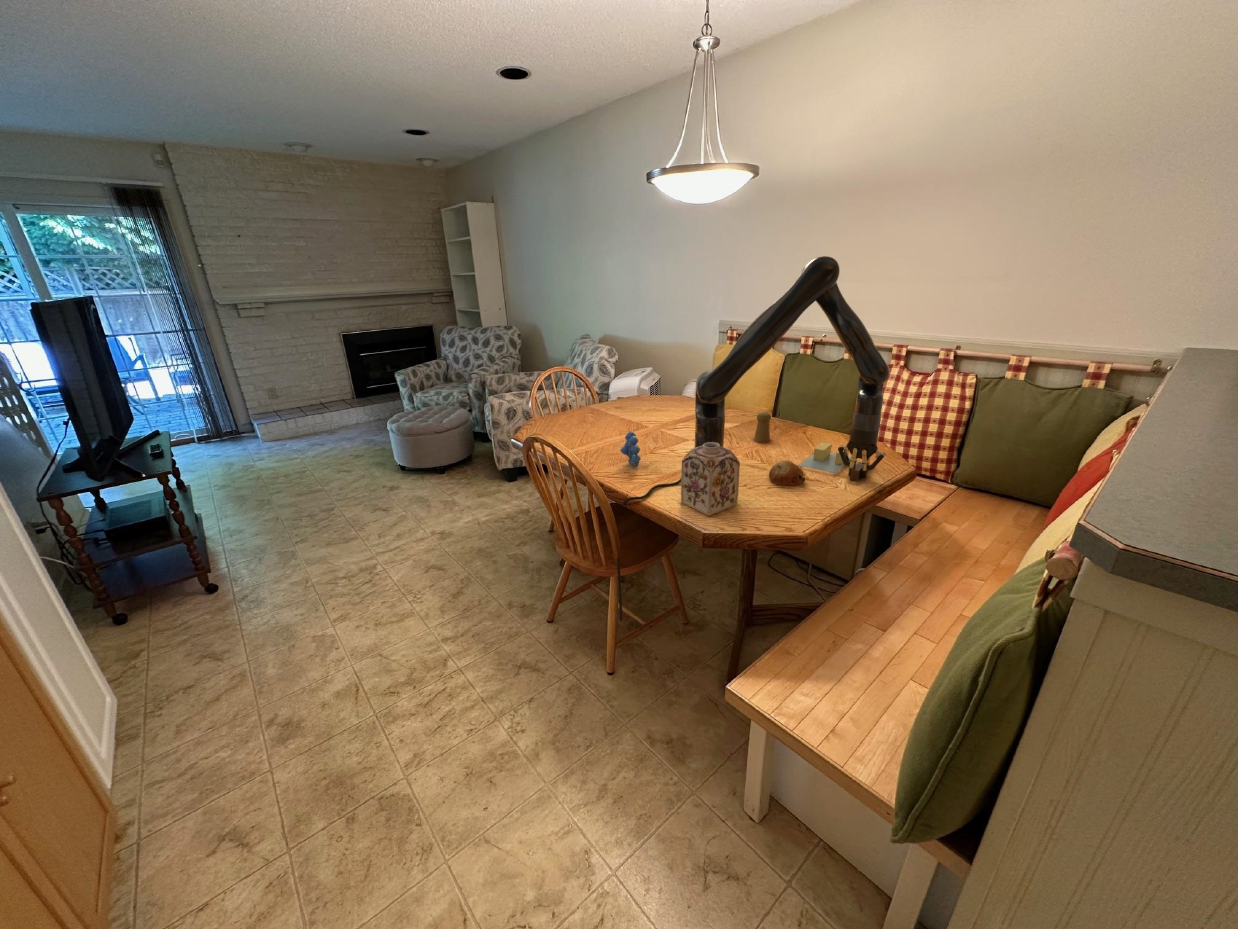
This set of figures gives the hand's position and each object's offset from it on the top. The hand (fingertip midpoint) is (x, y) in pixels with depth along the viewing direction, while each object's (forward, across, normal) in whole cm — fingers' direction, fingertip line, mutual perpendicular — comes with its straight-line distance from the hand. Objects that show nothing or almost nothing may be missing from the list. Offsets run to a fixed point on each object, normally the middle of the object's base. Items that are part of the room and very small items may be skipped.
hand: (856, 479), depth 149 cm
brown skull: (0, -17, -13) cm, 21 cm away
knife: (0, 0, +5) cm, 5 cm away
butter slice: (-1, -8, +11) cm, 14 cm away
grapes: (0, -65, -32) cm, 72 cm away
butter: (-1, -14, +11) cm, 18 cm away
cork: (0, -40, +19) cm, 44 cm away
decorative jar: (0, -28, -42) cm, 50 cm away
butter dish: (0, -12, +8) cm, 14 cm away
